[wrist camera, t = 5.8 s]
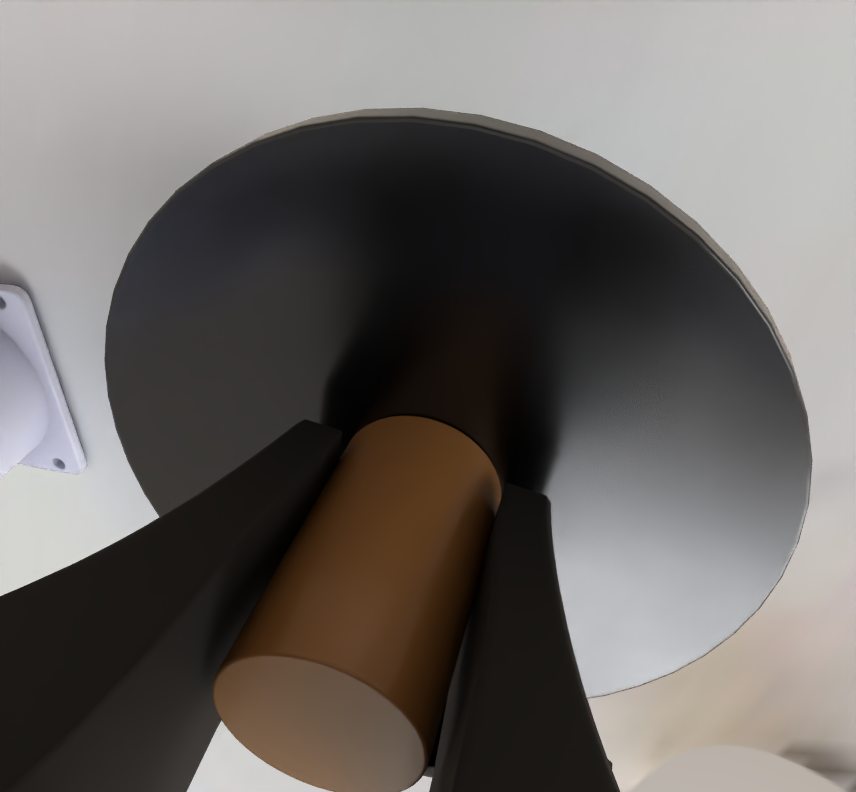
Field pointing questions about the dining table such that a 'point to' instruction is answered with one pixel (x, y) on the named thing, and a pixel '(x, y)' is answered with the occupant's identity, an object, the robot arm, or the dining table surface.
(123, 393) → the lid
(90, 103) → the dining table surface
